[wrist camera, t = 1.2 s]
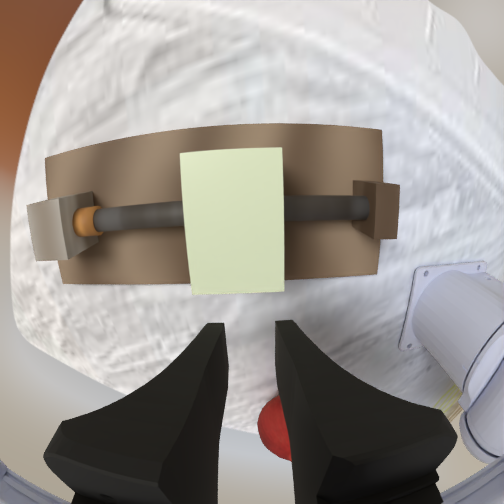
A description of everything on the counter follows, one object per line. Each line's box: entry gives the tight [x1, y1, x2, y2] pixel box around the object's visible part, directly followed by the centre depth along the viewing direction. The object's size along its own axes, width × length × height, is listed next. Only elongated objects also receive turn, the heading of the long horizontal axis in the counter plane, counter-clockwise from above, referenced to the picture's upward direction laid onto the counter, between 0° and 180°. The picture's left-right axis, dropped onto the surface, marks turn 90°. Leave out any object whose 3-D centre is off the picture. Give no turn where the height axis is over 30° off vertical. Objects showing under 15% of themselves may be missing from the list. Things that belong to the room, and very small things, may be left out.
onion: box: [257, 396, 292, 462], centre depth 19 cm, size 6×6×8 cm
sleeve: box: [180, 147, 284, 295], centre depth 14 cm, size 4×6×6 cm, turn 2°
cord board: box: [27, 123, 400, 284], centre depth 15 cm, size 24×10×5 cm, turn 92°
